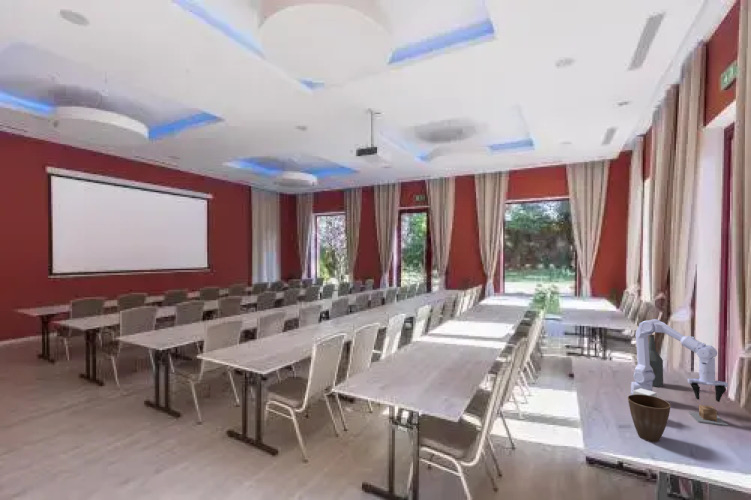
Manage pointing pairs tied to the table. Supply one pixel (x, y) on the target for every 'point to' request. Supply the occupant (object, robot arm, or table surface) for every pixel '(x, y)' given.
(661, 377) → the bottle
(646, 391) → the supplement box
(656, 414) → the plant pot
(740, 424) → the table surface
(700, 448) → the table surface
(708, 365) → the robot arm
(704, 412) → the walnut block
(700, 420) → the slate mat
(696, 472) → the table surface
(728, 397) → the table surface
